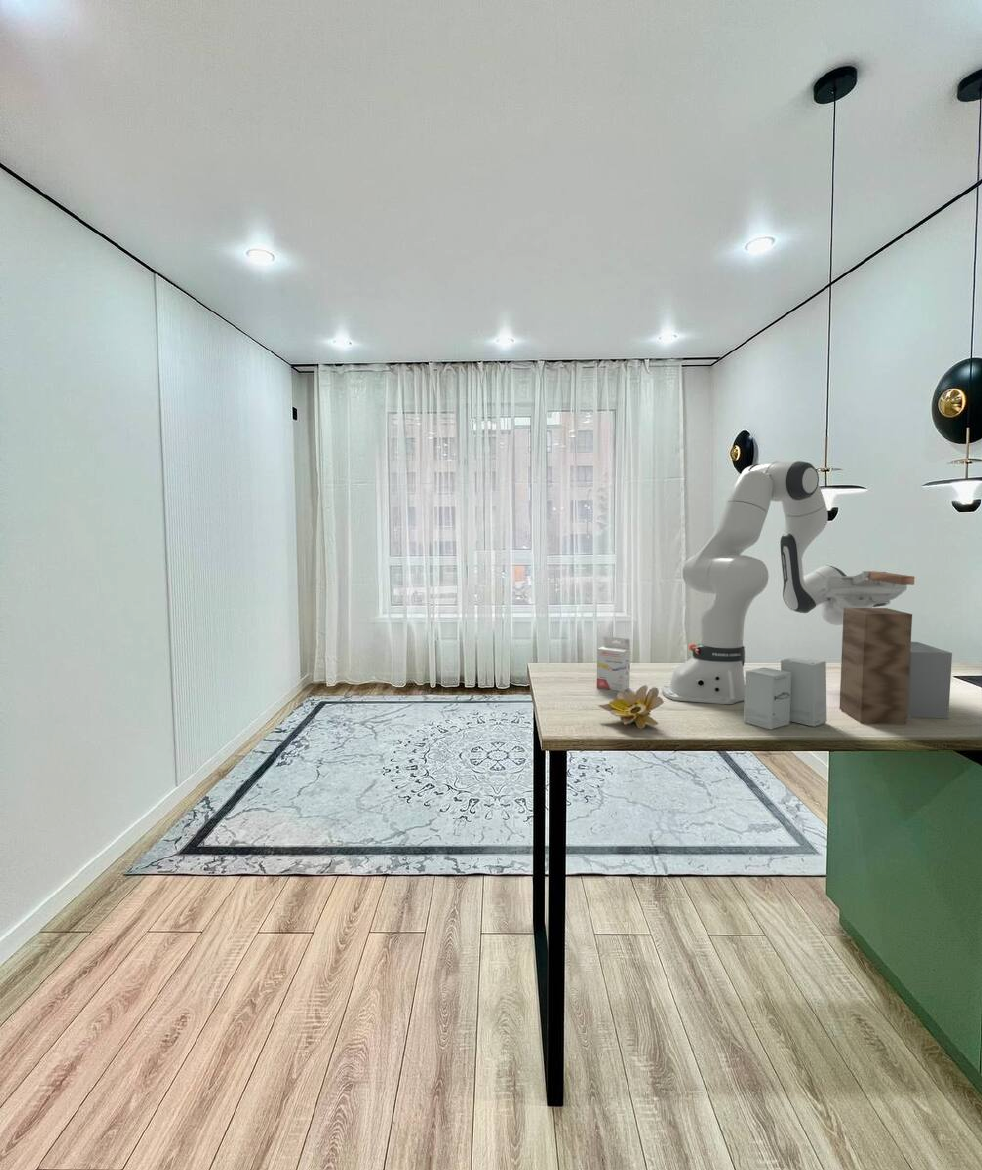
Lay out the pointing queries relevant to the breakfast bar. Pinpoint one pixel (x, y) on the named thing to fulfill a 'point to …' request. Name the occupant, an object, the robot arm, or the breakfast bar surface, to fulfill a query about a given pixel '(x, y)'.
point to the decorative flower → (635, 706)
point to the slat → (891, 578)
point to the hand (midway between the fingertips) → (875, 574)
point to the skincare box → (807, 690)
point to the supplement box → (767, 698)
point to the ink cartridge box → (613, 664)
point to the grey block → (928, 682)
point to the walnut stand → (875, 665)
